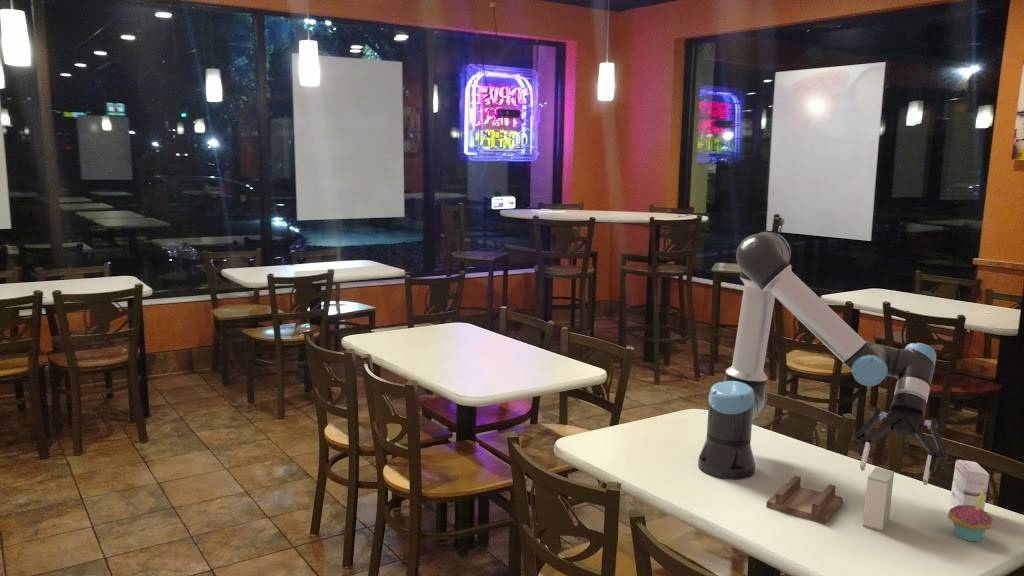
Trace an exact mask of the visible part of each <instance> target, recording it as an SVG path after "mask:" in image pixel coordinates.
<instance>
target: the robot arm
mask: <svg viewBox="0 0 1024 576" xmlns="http://www.w3.org/2000/svg"><path fill="white" fill-rule="evenodd" d="M791 252H792V251H791V246H790V245H789V242H788V241H787V240H786V239H785V237H783V236H782V235H781V234H778V233H775V232H771V231H761V232H759V233H755V234H751V235H749V236H747V237H745V238H744V239H743V240H741V242H740V243H739V245H738V247H737V249H736V255H735V256H736V263H737V266H738V267H739V269H740V274H739V275H740V276H739V279H740V280H741V281H742V283H743V292H742V299H741V305H740V311H739V312H740V314H739V318H738V325H737V332H736V337H735V345H734V351H733V357H732V365H731V366H729V367H728V368H726V369H725V373H724V380H723V381H719V382H717V383H714V384H713V385H712V386H711V388H710V390H709V394H708V409H707V411H708V413H707V425H706V427H707V428H706V438H705V441H704V444H703V447H702V449H701V451H700V453H699V456H698V460H697V461H698V464H697V467H698V466H699V467H698V468H699V469H700V470H701V472H703V473H705V474H707V473H708V474H707V475H711V476H713V477H717V478H722V479H729V480H730V479H731V480H742V479H749V478H751V477H753V476H754V475H755V473H756V461H755V458H754V453H753V450H752V445H751V441H752V429H753V421H754V419H756V418H757V416H758V415H759V414H760V413H761V412H762V411H764V408H765V407H766V405H767V401H768V391H767V386H768V385H767V384H768V376H767V374H766V373H765V371H764V368H765V361H766V355H767V349H768V342H769V337H770V330H771V324H772V318H773V314H774V313H773V312H774V305H775V299H777V301H779V302H780V303H781V305H783V306H784V307H785V308H786V309H787V310H788V311H789V312H790V313H791V314H792V315H793V316H794V317H795V318H797V320H798V321H799V322H800V323H801V324H802V325H804V326H805V327H806V328H807V330H809V331H810V332H811V333H812V334H813V335H814V337H816V338H817V339H818V340H819V341H821V343H822V344H823V345H824V346H825V347H826V348H827V349H828V350H829V351H830V352H831V353H832V354H833V355H835V356H836V357H837V359H839V361H841V362H842V363H843V364H844V365H845V366H846V367H847V369H849V371H851V374H852V376H853V378H854V380H855V381H856V382H857V383H858V384H860V385H862V386H864V387H875V386H877V385H879V384H881V383H882V381H884V380H885V378H886V377H887V376H888V377H891V378H896V379H897V381H896V384H895V388H894V391H893V392H894V393H893V398H892V401H891V404H890V405H891V406H890V409H889V411H888V412H886V411H882V409H881V408H876V409H875V411H874V414H873V415H872V416H871V417H870V418H869V419H868V420H867V421H866V422H865V423H864V424H863V425H862V426H861V427H860V428H859V429H858V430H857V431H856V432H855V433H854V436H853V437H854V440H855V442H856V443H859V444H860V445H859V448H858V455H859V457H861V459H860V460H861V461H860V464H859V466H860V471H863V472H864V471H865V470H866V466H867V463H868V459H869V454H870V449H871V446H870V445H871V444H872V443H873V442H875V441H878V439H880V438H882V437H883V436H885V435H887V434H890V433H892V432H894V431H895V432H896V433H899V434H900V433H901V434H905V435H908V436H910V435H912V434H913V435H914V436H915V438H917V440H918V442H920V444H921V445H922V446H923V448H924V450H925V451H926V452H927V457H926V462H925V467H924V472H923V477H922V483H923V485H924V486H928V482H929V478H930V473H931V472H932V473H935V472H936V470H937V464H938V461H940V460H943V461H946V460H948V452H947V449H946V447H945V445H944V442H943V440H942V437H941V435H940V432H939V430H938V420H937V419H936V418H932V419H931V420H930V419H925V413H926V409H927V404H928V399H929V395H930V391H931V385H932V381H933V376H934V372H935V367H936V361H937V352H936V351H935V348H933V347H931V346H930V345H928V344H925V343H922V342H917V343H915V342H911V343H909V344H907V345H906V346H905V348H904V349H903V348H896V347H892V346H886V345H884V344H883V345H882V344H878V343H873V342H871V341H866V340H864V339H863V338H862V336H860V334H858V333H857V332H856V331H855V330H854V329H853V328H852V326H850V325H848V323H846V321H844V319H842V318H841V317H840V316H839V315H838V313H836V312H835V311H834V310H833V309H832V308H831V307H830V306H829V305H828V304H827V303H826V302H824V300H822V298H820V297H819V296H818V295H817V294H816V293H815V292H814V291H813V290H812V289H811V288H810V287H809V286H808V285H807V284H806V283H804V281H802V279H800V278H799V277H798V275H796V274H795V273H794V272H793V271H792V264H790V260H791ZM883 419H886V420H887V421H886V422H884V424H882V425H881V426H879V427H878V428H875V427H876V426H878V424H879V422H880V421H883ZM925 426H926V427H927V429H928V430H930V431H931V436H932V438H933V441H934V443H935V445H936V448H937V450H936V449H935V448H934V446H933V445H932V443H931V441H929V439H928V438H927V436H926V435H925V434H924V432H923V431H922V428H923V427H925ZM874 428H875V429H874ZM873 429H874V430H873Z"/></svg>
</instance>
